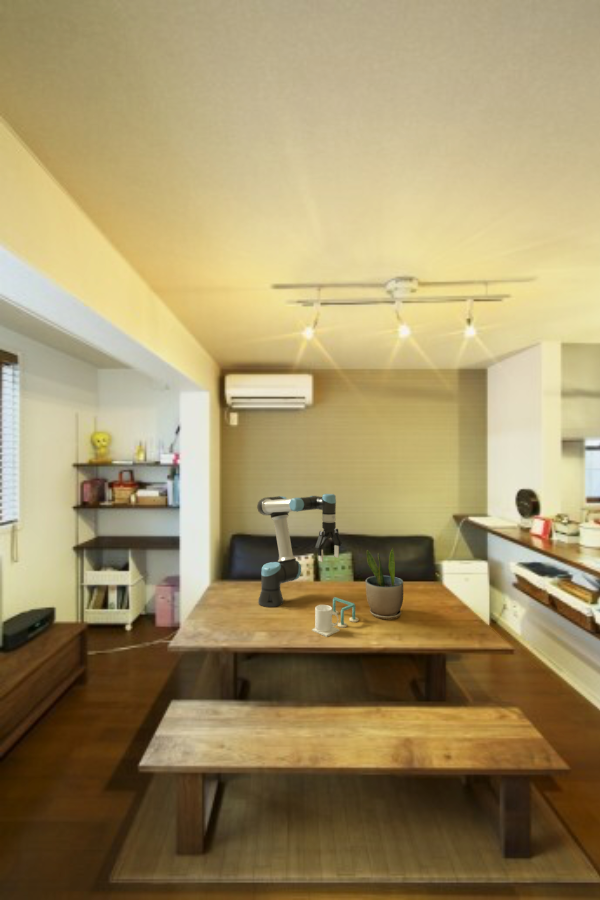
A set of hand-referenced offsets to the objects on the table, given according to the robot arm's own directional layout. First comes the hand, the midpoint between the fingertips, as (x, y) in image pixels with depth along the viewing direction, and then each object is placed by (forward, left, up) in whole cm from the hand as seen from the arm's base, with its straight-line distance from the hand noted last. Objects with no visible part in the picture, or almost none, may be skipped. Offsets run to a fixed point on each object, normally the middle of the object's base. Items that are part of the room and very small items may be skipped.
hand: (328, 559), depth 229 cm
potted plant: (+21, +24, -32) cm, 45 cm away
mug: (+12, -15, -31) cm, 37 cm away
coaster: (+12, -16, -32) cm, 37 cm away
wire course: (+7, 0, -32) cm, 32 cm away
